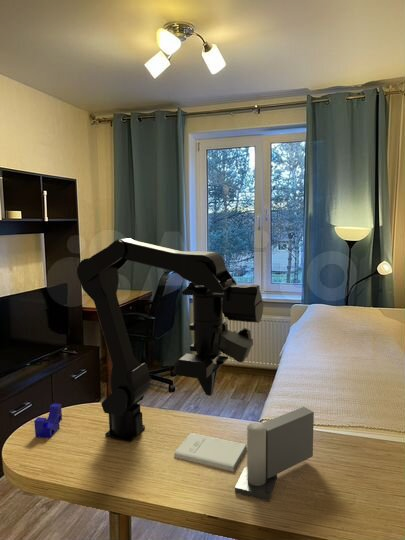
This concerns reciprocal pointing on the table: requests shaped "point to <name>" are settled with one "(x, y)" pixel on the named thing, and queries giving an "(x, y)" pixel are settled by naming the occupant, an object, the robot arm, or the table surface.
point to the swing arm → (278, 444)
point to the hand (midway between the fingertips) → (209, 394)
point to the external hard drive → (211, 451)
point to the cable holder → (49, 422)
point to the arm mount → (255, 487)
